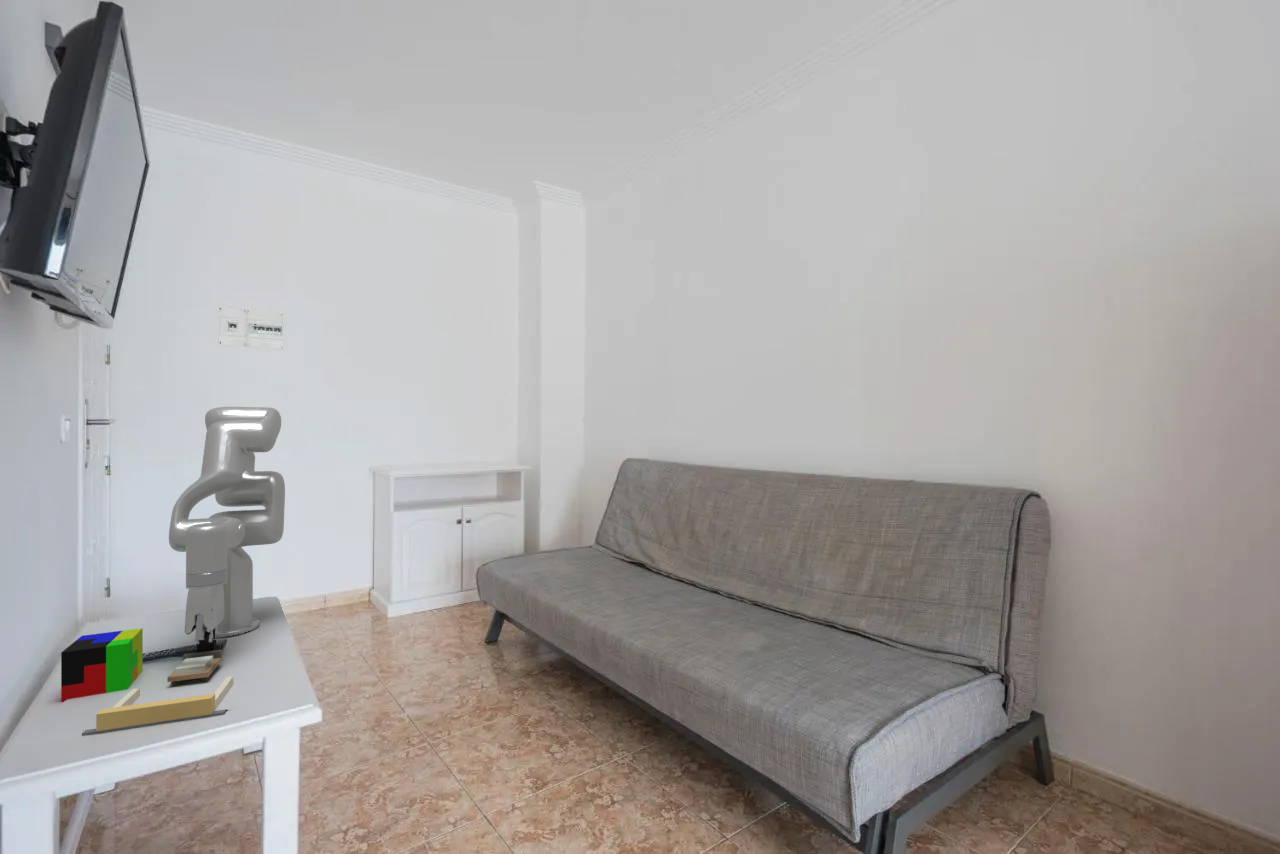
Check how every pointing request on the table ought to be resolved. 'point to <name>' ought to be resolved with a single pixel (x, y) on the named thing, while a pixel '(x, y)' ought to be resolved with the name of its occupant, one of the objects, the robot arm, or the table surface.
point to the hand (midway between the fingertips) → (206, 659)
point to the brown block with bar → (196, 666)
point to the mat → (158, 710)
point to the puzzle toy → (101, 663)
